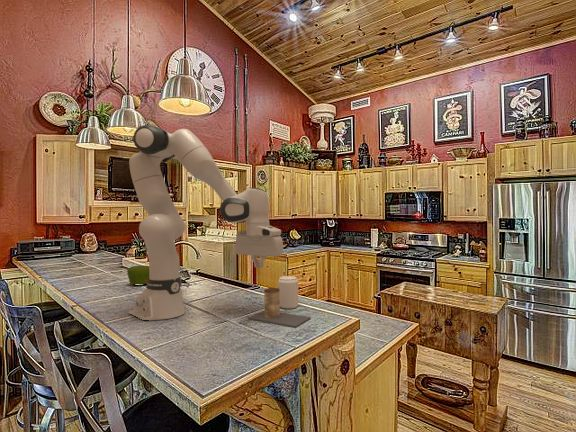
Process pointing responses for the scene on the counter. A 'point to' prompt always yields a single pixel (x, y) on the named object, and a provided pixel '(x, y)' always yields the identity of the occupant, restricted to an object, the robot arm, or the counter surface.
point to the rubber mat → (281, 319)
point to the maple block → (272, 302)
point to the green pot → (138, 274)
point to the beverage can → (288, 292)
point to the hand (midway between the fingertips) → (258, 267)
